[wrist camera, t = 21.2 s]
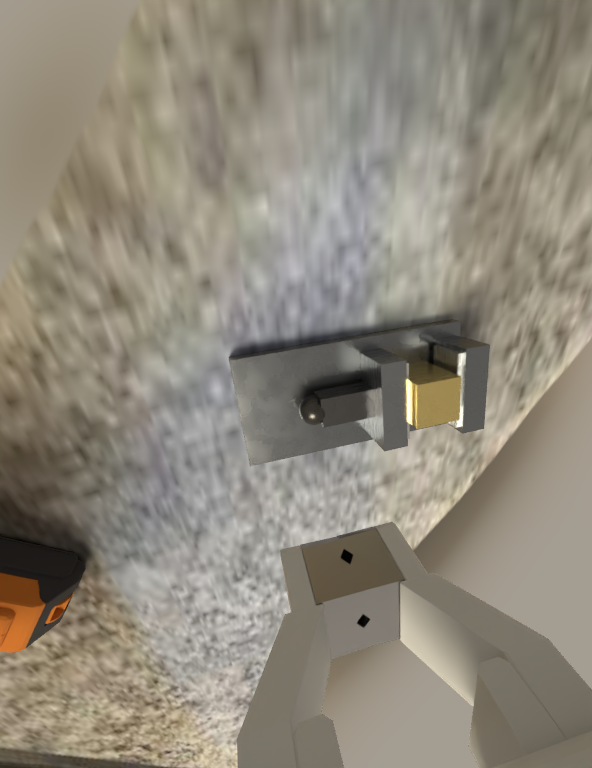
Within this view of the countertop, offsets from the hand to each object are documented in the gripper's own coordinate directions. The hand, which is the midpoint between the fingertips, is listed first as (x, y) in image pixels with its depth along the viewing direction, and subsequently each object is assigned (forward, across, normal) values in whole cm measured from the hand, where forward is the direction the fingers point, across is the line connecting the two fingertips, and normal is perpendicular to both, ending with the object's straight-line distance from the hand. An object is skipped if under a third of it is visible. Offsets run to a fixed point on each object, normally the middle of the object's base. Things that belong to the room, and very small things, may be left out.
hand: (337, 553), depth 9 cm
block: (+26, -16, +8) cm, 31 cm away
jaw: (+26, -8, +8) cm, 28 cm away
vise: (+27, -10, +8) cm, 30 cm away
